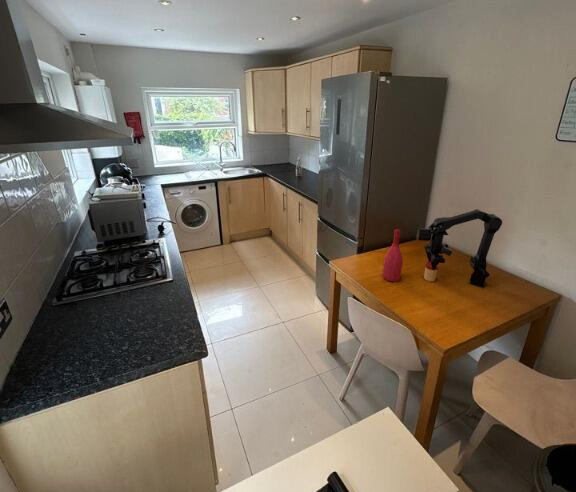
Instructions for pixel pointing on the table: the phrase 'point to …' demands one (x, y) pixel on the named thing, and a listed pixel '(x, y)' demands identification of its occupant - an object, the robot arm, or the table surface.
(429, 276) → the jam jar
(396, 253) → the wine bottle
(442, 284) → the table surface
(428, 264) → the lid
